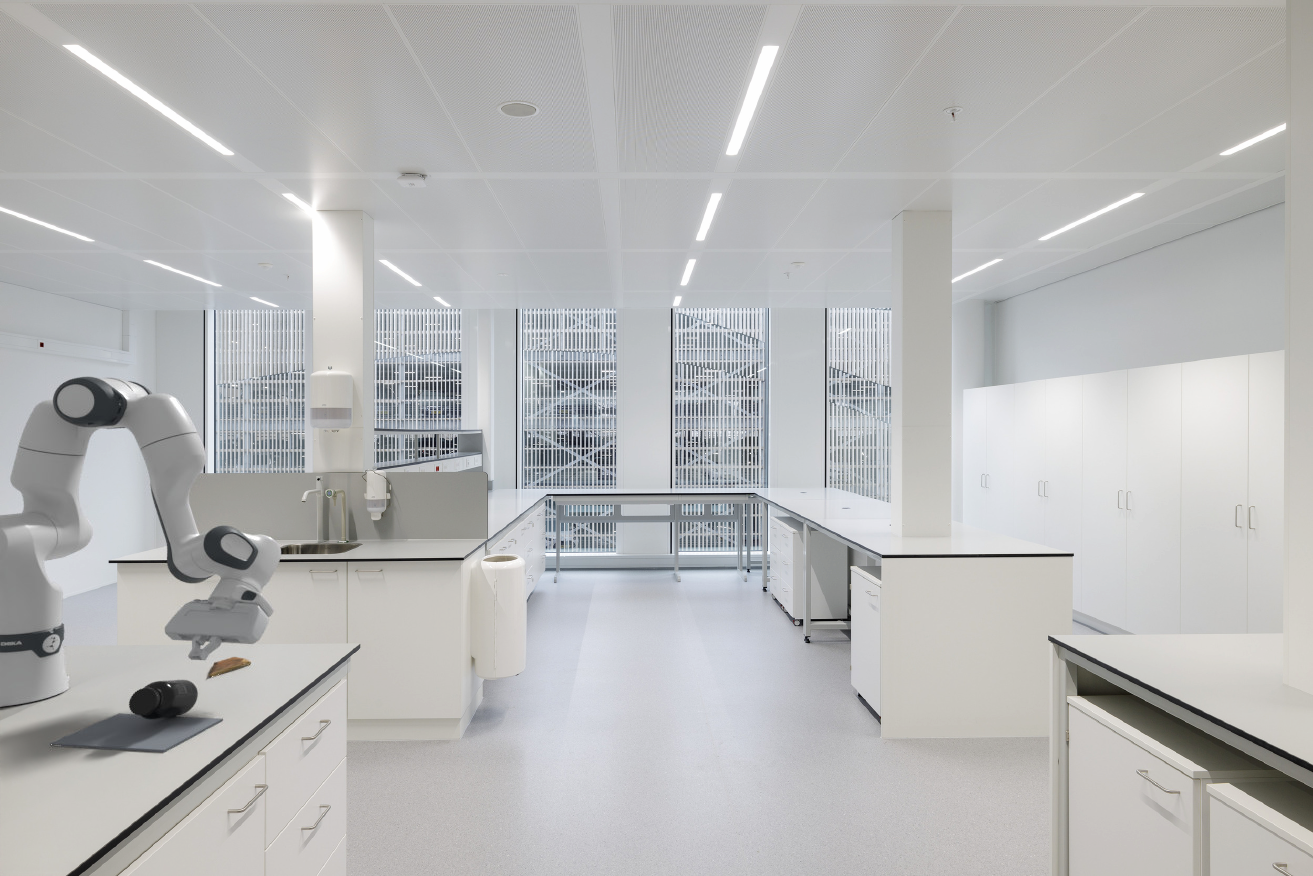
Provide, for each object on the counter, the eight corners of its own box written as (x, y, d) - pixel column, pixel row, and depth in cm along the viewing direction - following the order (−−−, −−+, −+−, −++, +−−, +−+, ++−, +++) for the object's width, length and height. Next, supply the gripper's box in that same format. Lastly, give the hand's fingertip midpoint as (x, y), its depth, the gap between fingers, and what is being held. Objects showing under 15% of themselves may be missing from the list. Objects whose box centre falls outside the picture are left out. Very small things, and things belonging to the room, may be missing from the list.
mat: (49, 745, 119) (49, 743, 119) (119, 715, 133) (119, 713, 133) (164, 752, 117) (164, 750, 117) (222, 720, 131) (223, 718, 131)
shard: (209, 680, 155) (209, 672, 155) (186, 676, 158) (187, 668, 158) (252, 666, 166) (252, 659, 166) (230, 663, 168) (230, 655, 168)
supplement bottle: (163, 683, 135) (123, 684, 123) (199, 676, 136) (163, 677, 124) (161, 719, 133) (121, 724, 121) (198, 712, 133) (162, 717, 122)
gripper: (181, 591, 148) (141, 648, 138) (268, 595, 146) (234, 653, 136) (196, 607, 152) (158, 663, 142) (281, 611, 150) (248, 668, 140)
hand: (196, 658), depth 139 cm, fingers closed
